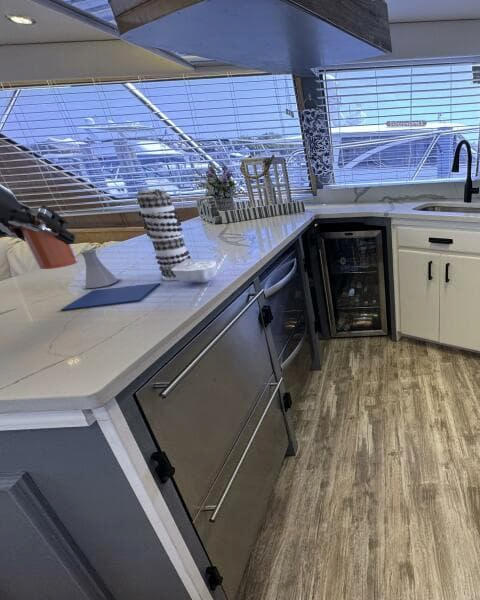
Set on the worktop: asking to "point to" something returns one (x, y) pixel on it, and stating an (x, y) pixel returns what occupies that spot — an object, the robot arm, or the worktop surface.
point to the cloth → (112, 296)
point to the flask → (96, 271)
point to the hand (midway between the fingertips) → (55, 241)
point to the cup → (48, 248)
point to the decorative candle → (163, 230)
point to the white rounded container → (195, 271)
